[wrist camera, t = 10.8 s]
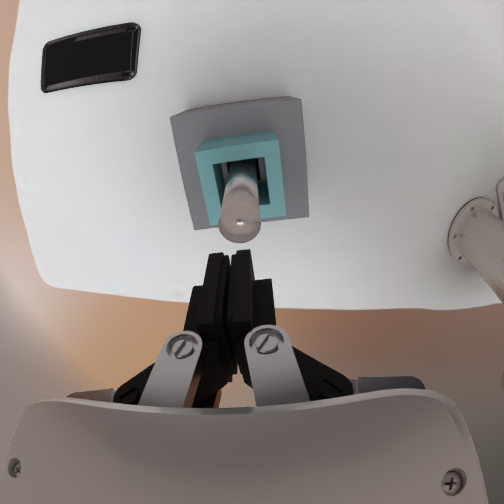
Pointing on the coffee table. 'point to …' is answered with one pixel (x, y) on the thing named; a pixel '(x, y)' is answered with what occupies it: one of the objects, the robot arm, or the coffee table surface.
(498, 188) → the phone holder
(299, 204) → the bearing block
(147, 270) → the coffee table surface
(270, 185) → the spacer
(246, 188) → the shaft
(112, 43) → the phone
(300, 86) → the coffee table surface
